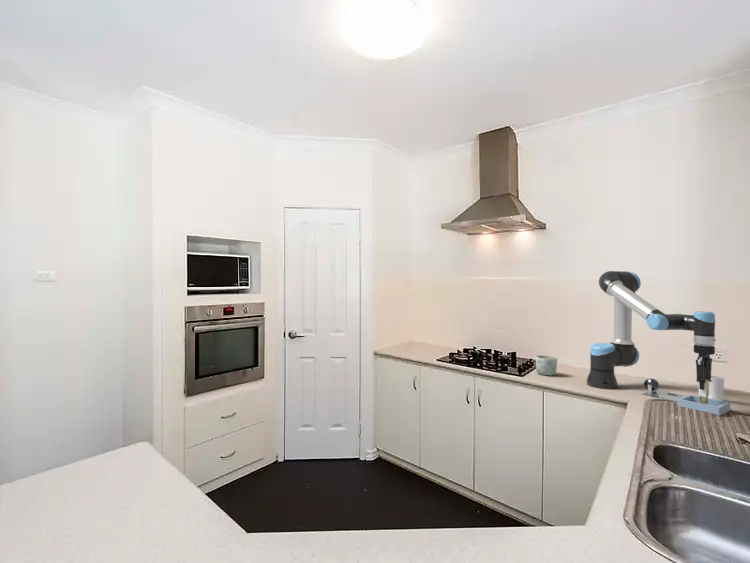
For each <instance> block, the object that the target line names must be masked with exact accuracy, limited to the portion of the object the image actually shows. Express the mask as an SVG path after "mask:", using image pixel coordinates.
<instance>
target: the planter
mask: <svg viewBox="0 0 750 563" xmlns="http://www.w3.org/2000/svg"><path fill="white" fill-rule="evenodd" d="M557 366H558V358H557V357H556V356H551V355H536V356H535V370H536V373H537V374H539V375H540V374H541V376H545V375H549V377H550V376H551V377H553V376H555V375H556V373H557V368H558V367H557ZM552 375H553V376H552Z"/></svg>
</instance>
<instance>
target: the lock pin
mask: <svg viewBox="0 0 750 563" xmlns="http://www.w3.org/2000/svg"><path fill="white" fill-rule="evenodd" d="M705 383H707V395H706V397H702V396H700V403H702V404H708V379H706V382H705Z"/></svg>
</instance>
